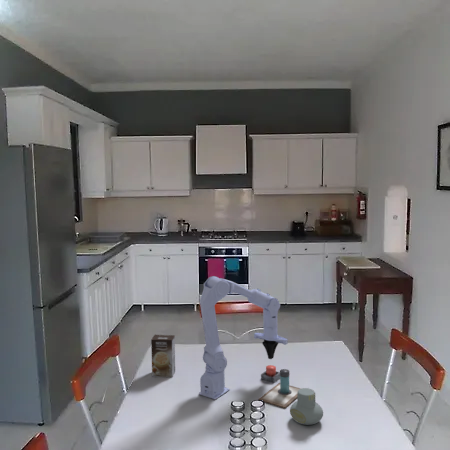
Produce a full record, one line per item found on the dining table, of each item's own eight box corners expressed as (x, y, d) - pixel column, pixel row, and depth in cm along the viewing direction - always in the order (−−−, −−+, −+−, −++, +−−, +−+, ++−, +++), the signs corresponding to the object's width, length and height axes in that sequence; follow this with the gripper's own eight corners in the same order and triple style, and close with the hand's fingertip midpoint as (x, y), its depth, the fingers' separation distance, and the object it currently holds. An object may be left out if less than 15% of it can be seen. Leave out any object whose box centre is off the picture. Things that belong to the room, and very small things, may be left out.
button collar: (273, 382, 176) (273, 377, 176) (261, 379, 179) (260, 374, 179) (281, 377, 181) (281, 372, 180) (268, 373, 184) (268, 369, 184)
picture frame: (285, 408, 155) (285, 406, 155) (258, 400, 161) (258, 398, 161) (304, 391, 168) (304, 389, 168) (279, 384, 174) (279, 382, 174)
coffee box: (151, 377, 183) (150, 339, 182) (155, 370, 190) (154, 334, 188) (172, 377, 182) (171, 339, 181) (176, 371, 189) (175, 334, 187)
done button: (272, 377, 177) (272, 370, 177) (264, 375, 179) (264, 367, 179) (277, 374, 180) (277, 366, 180) (269, 371, 183) (269, 364, 182)
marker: (286, 394, 164) (286, 373, 163) (278, 392, 166) (278, 371, 165) (291, 390, 167) (291, 370, 166) (282, 388, 169) (282, 368, 168)
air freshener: (286, 418, 149) (285, 389, 148) (302, 410, 154) (302, 382, 153) (310, 431, 140) (310, 401, 139) (327, 423, 145) (327, 393, 144)
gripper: (291, 325, 177) (291, 358, 178) (260, 320, 185) (260, 351, 187) (282, 330, 171) (283, 364, 173) (251, 324, 180) (251, 356, 181)
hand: (270, 358), depth 179 cm, fingers closed
